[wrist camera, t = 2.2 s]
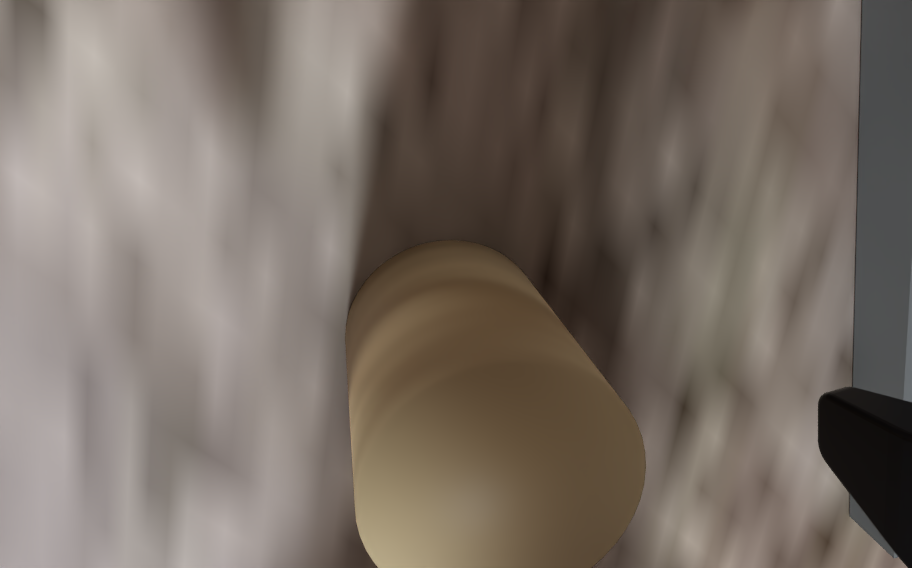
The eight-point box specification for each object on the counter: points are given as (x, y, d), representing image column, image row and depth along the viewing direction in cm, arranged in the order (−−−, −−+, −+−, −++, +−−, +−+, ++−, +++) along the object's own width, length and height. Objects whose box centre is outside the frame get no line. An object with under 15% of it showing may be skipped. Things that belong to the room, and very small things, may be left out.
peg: (373, 442, 14) (395, 642, 10) (320, 270, 13) (316, 410, 8) (555, 391, 15) (657, 561, 10) (524, 217, 13) (629, 324, 9)
